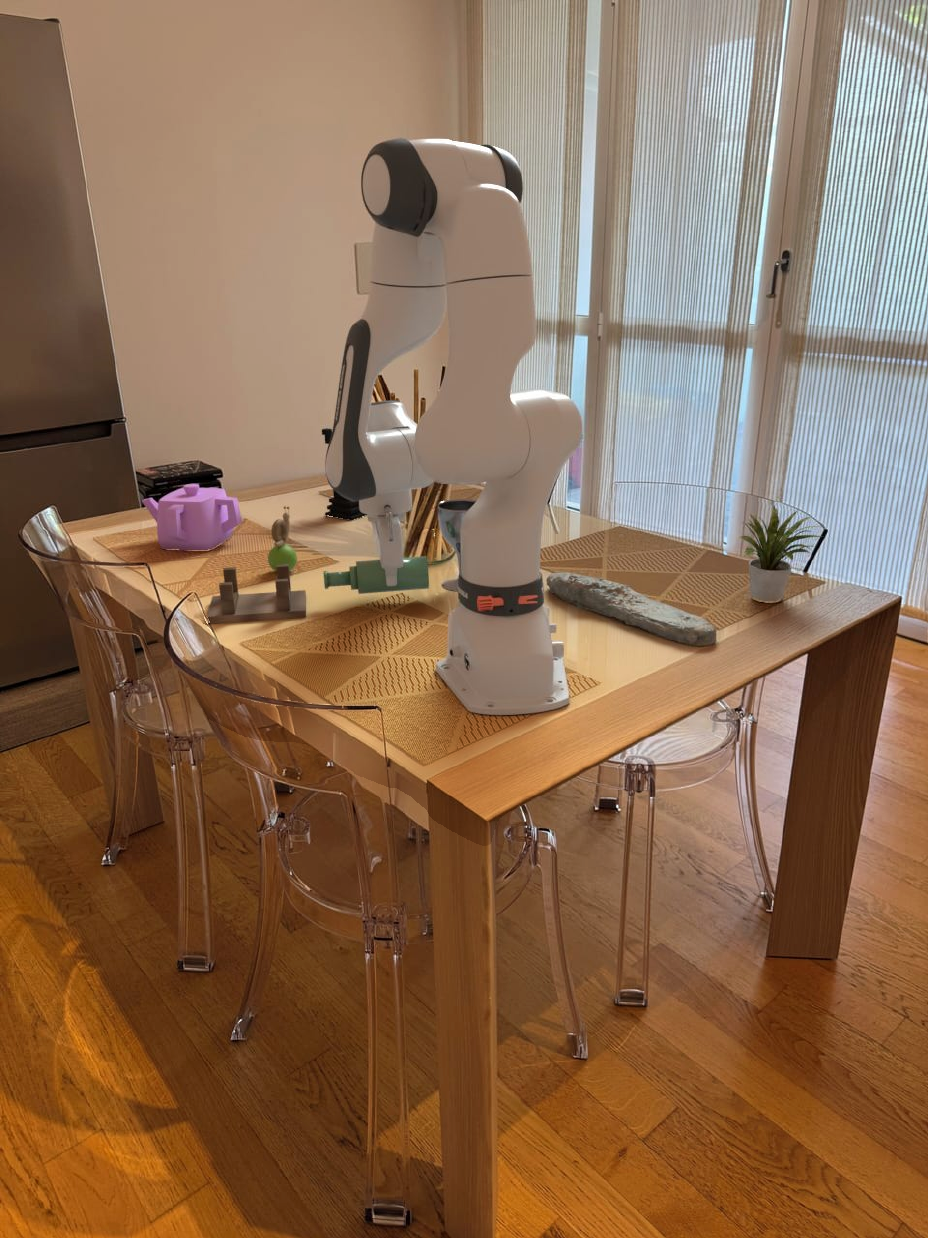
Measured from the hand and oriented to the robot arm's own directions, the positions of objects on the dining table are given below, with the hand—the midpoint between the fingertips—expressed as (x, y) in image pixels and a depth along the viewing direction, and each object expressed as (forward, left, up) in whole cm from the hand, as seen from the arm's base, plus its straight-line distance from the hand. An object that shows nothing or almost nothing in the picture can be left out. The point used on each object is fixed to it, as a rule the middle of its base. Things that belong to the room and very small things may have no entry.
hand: (390, 578), depth 156 cm
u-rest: (+1, +23, -4) cm, 23 cm away
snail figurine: (+21, +19, -5) cm, 28 cm away
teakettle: (+45, +38, -5) cm, 59 cm away
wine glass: (+7, -13, -5) cm, 16 cm away
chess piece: (+60, +5, -5) cm, 60 cm away
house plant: (-11, -63, -5) cm, 65 cm away
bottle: (-2, +2, -2) cm, 3 cm away
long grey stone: (-13, -38, -5) cm, 40 cm away
